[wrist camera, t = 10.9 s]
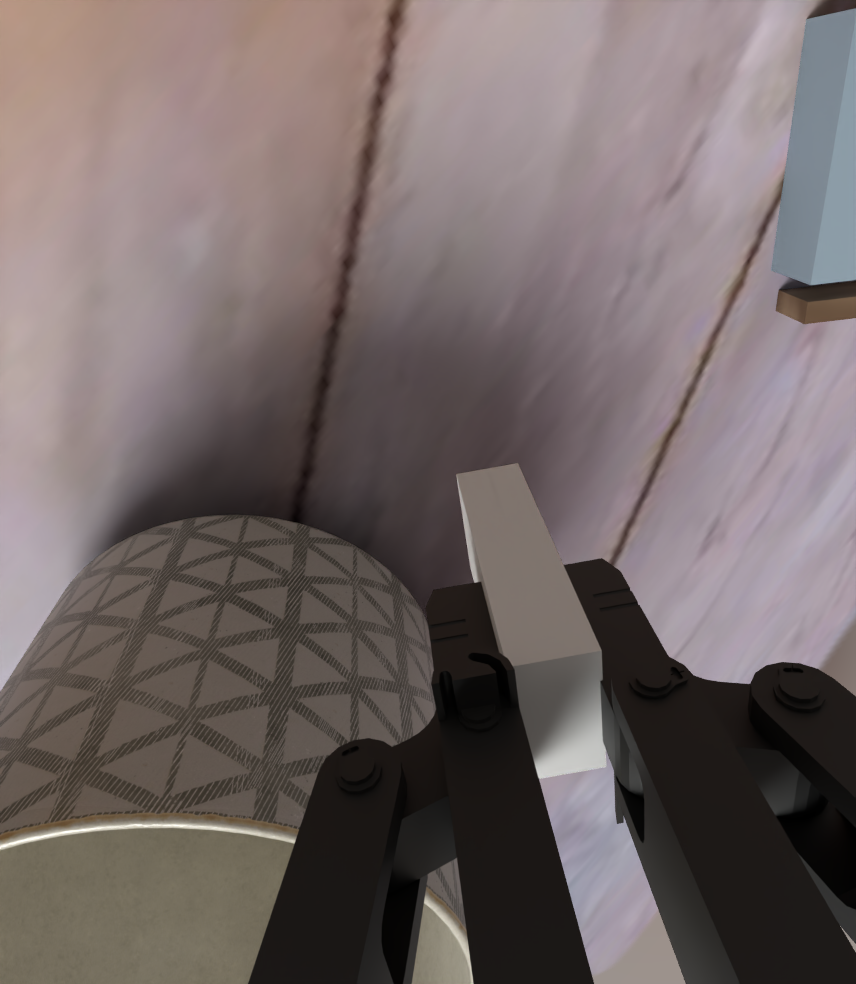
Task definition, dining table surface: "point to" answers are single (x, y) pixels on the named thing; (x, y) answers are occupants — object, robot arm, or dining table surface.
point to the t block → (821, 159)
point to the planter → (197, 749)
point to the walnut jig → (819, 302)
